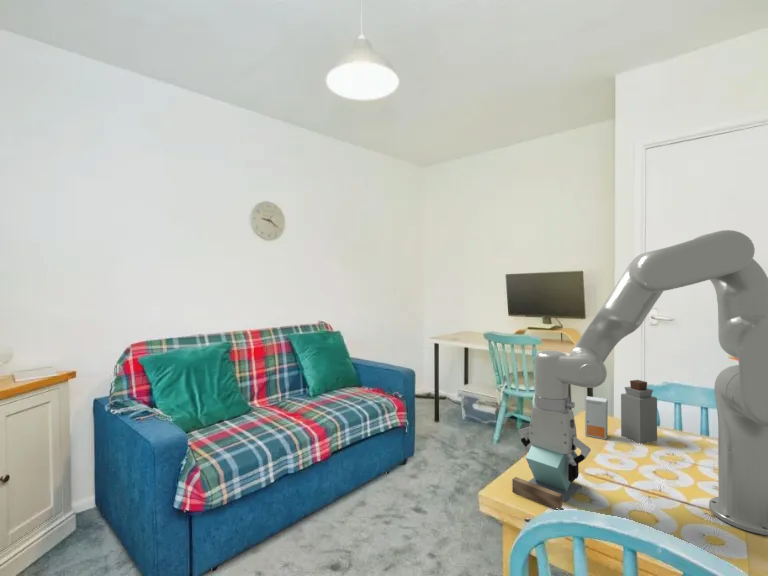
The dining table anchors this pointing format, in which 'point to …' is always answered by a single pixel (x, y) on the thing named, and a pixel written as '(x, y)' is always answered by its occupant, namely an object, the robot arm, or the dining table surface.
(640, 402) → the perfume bottle
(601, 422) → the skincare box
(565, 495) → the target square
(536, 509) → the dining table surface
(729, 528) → the dining table surface
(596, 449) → the dining table surface
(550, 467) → the teal tissue box
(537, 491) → the stopper rail
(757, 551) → the dining table surface
